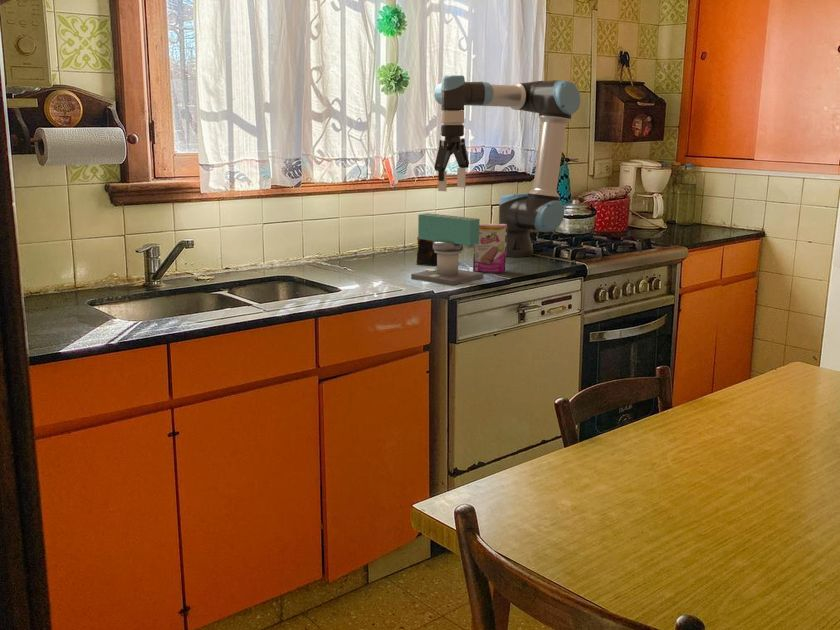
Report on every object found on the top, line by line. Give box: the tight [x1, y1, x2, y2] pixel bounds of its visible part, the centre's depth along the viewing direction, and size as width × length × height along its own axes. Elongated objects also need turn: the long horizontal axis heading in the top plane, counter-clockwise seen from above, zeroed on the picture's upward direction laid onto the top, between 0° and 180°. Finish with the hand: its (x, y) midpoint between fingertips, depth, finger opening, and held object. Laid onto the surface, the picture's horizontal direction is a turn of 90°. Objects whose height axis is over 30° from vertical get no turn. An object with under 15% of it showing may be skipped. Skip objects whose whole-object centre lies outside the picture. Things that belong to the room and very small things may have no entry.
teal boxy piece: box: [417, 212, 481, 251], centre depth 275 cm, size 10×21×10 cm, turn 51°
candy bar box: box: [472, 222, 507, 274], centre depth 287 cm, size 11×5×16 cm, turn 84°
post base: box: [410, 250, 484, 287], centre depth 277 cm, size 17×17×10 cm
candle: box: [416, 236, 437, 267], centre depth 303 cm, size 10×10×10 cm
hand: (452, 189), depth 282 cm, fingers open, 13 cm apart
